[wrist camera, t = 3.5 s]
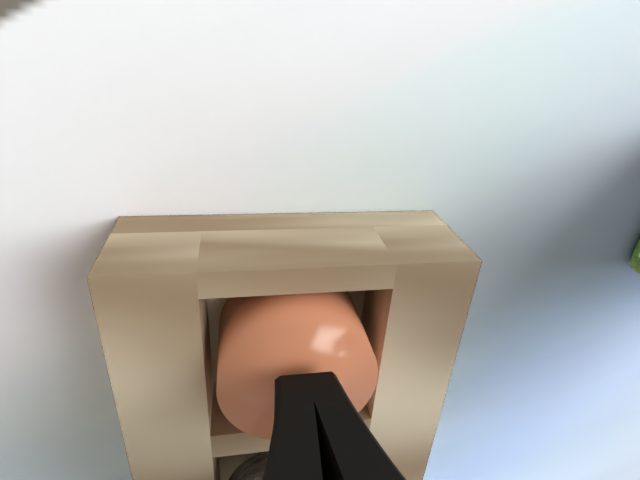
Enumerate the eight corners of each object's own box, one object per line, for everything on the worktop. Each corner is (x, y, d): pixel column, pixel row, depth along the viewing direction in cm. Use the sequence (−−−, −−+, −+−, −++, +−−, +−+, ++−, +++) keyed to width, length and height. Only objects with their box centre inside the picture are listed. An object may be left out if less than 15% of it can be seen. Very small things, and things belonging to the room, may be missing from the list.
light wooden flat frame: (370, 528, 21) (389, 601, 19) (178, 558, 20) (170, 643, 17) (433, 210, 13) (482, 260, 11) (119, 216, 12) (86, 277, 9)
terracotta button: (348, 368, 14) (368, 432, 12) (222, 379, 13) (220, 449, 11) (361, 263, 12) (388, 315, 10) (215, 269, 11) (211, 327, 9)
